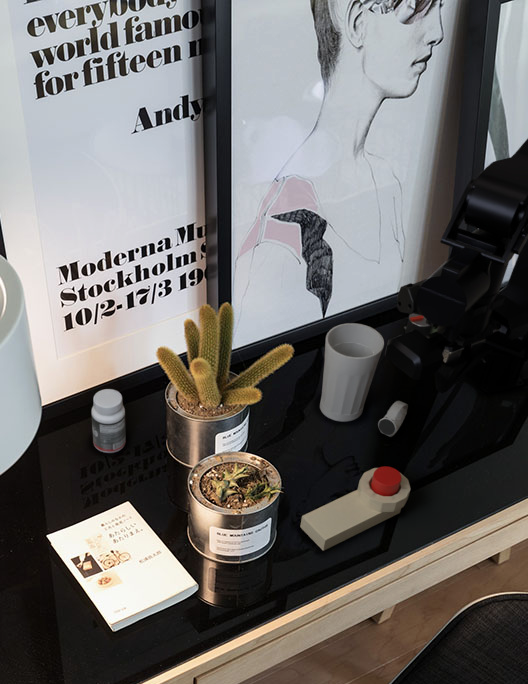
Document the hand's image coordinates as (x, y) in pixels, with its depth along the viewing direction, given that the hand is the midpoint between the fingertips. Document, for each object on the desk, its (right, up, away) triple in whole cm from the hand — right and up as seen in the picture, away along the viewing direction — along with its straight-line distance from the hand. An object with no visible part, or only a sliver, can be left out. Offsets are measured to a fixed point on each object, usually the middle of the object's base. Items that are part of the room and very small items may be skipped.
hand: (441, 390), depth 123 cm
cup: (-9, +1, +18) cm, 20 cm away
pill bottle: (-43, -4, +15) cm, 46 cm away
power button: (-7, -12, +3) cm, 14 cm away
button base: (-11, -16, +4) cm, 20 cm away
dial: (+4, +12, +22) cm, 26 cm away
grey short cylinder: (-2, -3, +15) cm, 15 cm away
